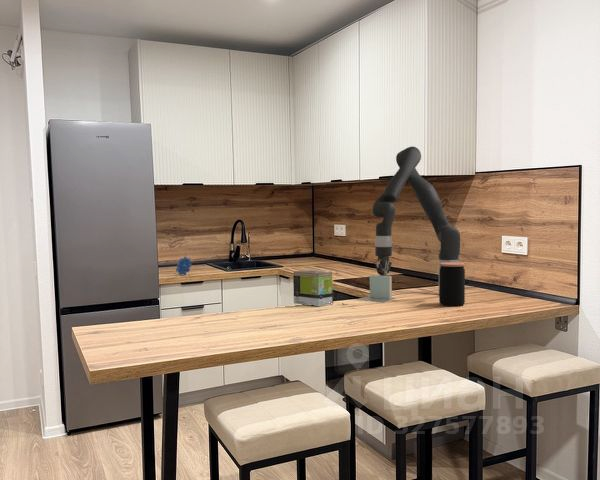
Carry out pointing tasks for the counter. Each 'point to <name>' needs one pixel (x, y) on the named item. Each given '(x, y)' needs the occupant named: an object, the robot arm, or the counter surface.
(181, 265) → the grapes
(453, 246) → the robot arm
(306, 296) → the tea box
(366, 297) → the slate board
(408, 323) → the counter surface
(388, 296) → the tile
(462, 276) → the coffee jar
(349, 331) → the counter surface
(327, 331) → the counter surface
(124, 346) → the counter surface
